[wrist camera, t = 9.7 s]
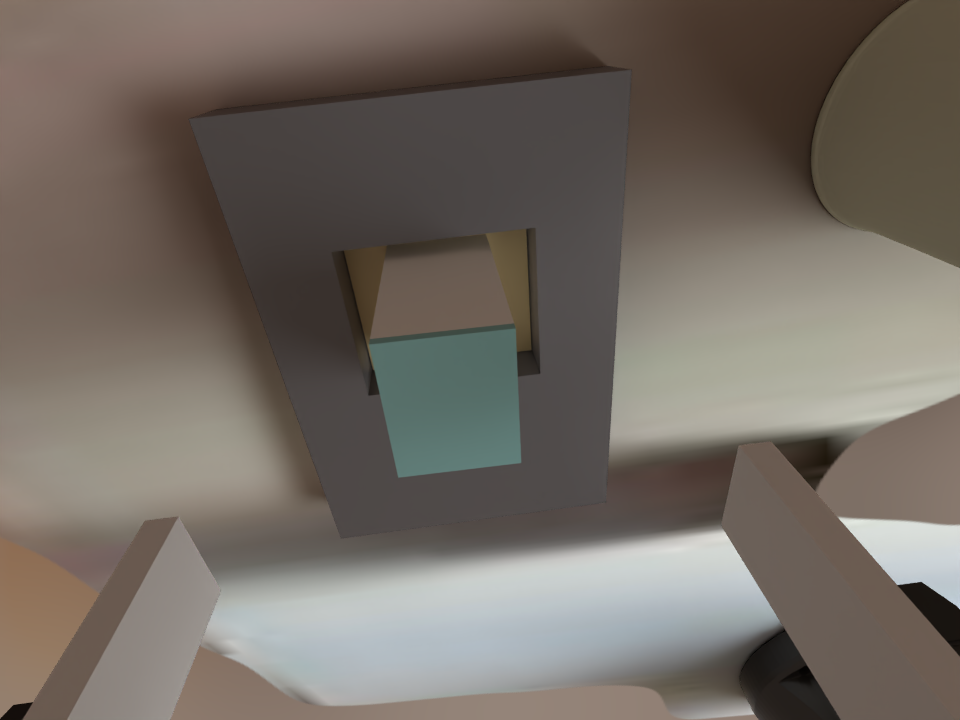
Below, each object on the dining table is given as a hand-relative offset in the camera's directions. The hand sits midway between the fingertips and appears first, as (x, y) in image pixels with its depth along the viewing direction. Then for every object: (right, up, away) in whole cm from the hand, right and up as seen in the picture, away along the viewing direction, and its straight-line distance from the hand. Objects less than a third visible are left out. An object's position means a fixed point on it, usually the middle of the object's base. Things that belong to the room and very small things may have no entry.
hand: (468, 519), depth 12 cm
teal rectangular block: (-1, +7, +10) cm, 12 cm away
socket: (-1, +5, +11) cm, 12 cm away
